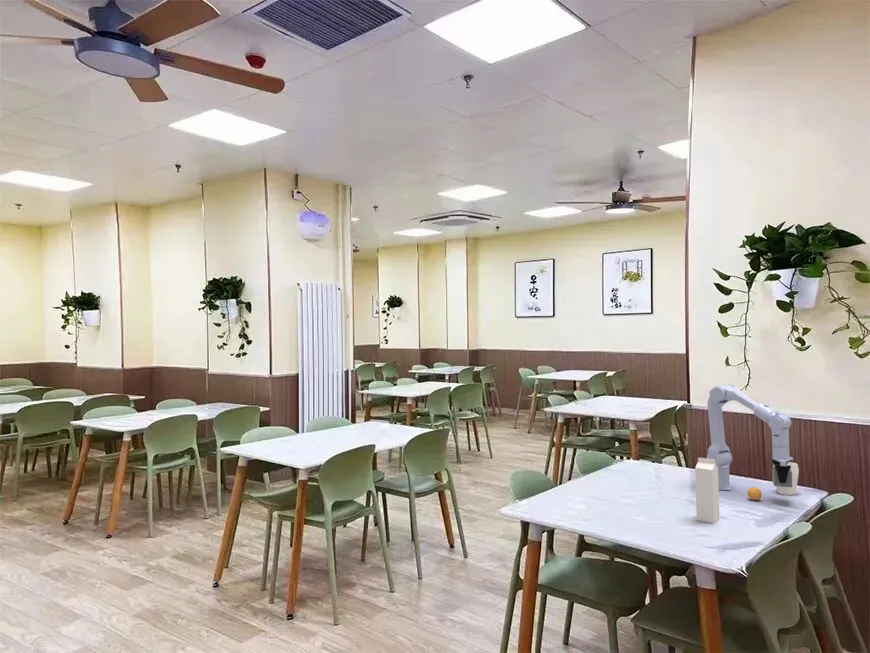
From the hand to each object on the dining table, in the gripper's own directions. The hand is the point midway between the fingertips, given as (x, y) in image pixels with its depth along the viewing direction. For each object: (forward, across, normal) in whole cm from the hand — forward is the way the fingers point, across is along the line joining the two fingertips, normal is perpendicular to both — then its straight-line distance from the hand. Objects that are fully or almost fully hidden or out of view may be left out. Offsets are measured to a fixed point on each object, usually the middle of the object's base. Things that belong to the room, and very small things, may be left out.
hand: (781, 480), depth 235 cm
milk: (+9, -32, +26) cm, 42 cm away
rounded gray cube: (+2, 0, 0) cm, 2 cm away
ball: (+6, 0, +10) cm, 11 cm away
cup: (+9, +15, -3) cm, 18 cm away
